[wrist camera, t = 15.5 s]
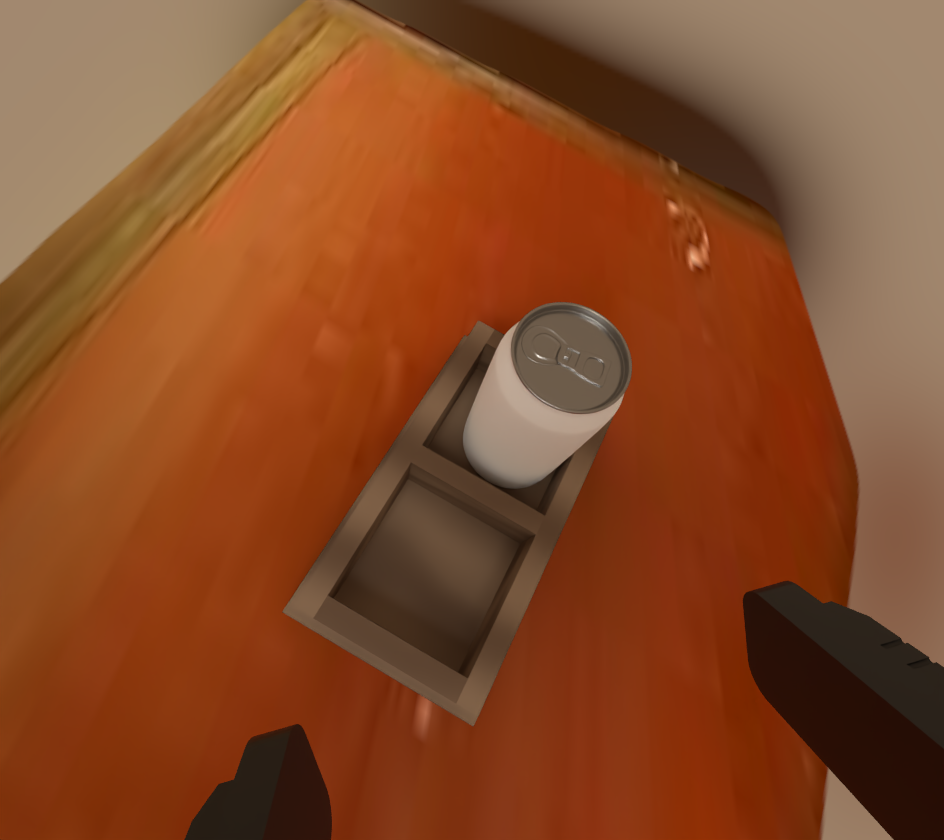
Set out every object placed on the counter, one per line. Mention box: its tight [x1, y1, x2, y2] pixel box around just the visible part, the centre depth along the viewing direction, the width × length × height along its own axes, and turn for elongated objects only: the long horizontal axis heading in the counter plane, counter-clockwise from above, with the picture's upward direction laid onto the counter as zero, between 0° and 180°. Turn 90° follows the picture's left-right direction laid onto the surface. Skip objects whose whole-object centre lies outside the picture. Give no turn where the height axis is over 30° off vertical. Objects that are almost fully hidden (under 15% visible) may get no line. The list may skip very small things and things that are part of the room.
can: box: [463, 302, 632, 489], centre depth 28 cm, size 6×6×12 cm
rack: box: [283, 320, 614, 726], centre depth 30 cm, size 21×12×5 cm, turn 152°
